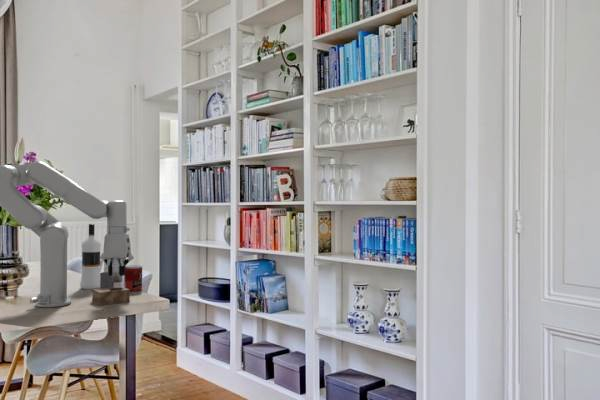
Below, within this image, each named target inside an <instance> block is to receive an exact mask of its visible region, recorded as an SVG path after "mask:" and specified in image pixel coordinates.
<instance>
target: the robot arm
mask: <svg viewBox="0 0 600 400" xmlns="http://www.w3.org/2000/svg"><path fill="white" fill-rule="evenodd" d="M30 185H31V186H32V185H37V186H38V187H41V188H42V189H44V190H45V191H46V192H48V193H50V194H52V195H54V196H55V197H56V198H57V199H60V200H61V201H63V202H65V203H67V204H69V205H70V206H72V207H74V208H75V209H77V210H79V212H81V213H82V214H85V215H86V216H88V217H89V218H91V219H94V220H98V219H103V218H106V234H105V235H104V236H105V240H104V239H103V240H104V242H103V251H102V252H103V253H101V254H100V260H102V261H103V263H104V262H105V263H106V264H107V266H108V273H109V276H112V258H118V259H120V262H121V266H120V276H122V277H123V276H124V275H125V273H126V266H128V263H130V262H131V261H132V260H134V256H133V254H132V247H131V245H132V244H131V239H130V235H129V233H128V232H130V230H131V229H130V228H129V227H128V226H127V203H126V201H124V200H109V201H108V200H101V199H99V198H97V197H96V196H95V195H92V194H91V193H89V192H88V191H86V190H85V189H83V188H82V187H81V186H79V185H78V183H76V182H74V180H72V179H71V178H69V177H67V176H66V175H64V174H63V173H61V172H59V171H58V170H56V169H55V168H54V167H52V166H50V165H49V164H47V163H45V162H44V161H41V160H40V161H39V160H35V161H32V162H31V163H26V164H16V165H9V164H0V207H1V208H2V209H3V210H4V211H6V212H7V214H9V215H10V216H12V218H14V219H15V220H16V221H17V222H18V223H19V224H20V225H21V226H23V228H26V229H28V230H30V231H32V232H33V233H34V234H36V235H37V236H38V237H39V246H40V248H39V249H40V250H39V251H40V263H39V264H40V276H39V277H40V278H39V279H40V280H39V281H40V283H39V284H40V286H39V292H40V293H39V294H37V296H36V297H31V298H30V299H29V303H30V304H35V306H36V307H38V308H39V307H40V308H57V307H64V306H68V305H70V304H71V303H72V300H71V299H70V298H69V299H68V298H67V297H68V295H67V294H68V239H69V230H68V229H67V227H66V226H65V225H64V224H63V223H62V222H61V221H60V220H58V219H57V218H56V217H55V216H53V215H52V213H50V212H49V211H48V210H46V209H45V208H44V207H42V206H41V205H37V204H35V203H34V202H32V201H31V200H30V199H29V198H28V197H26V195H24V193H22V192H21V191H19V190H18V189H17V188H16V187H23V186H30ZM107 258H108V259H107Z"/></svg>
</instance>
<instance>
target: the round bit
mask: <svg viewBox="0 0 600 400" xmlns="http://www.w3.org/2000/svg"><path fill="white" fill-rule="evenodd" d="M120 266H121V262H120V259H118V258H112V282H113V283H118V282H121V283H122V282H123V276H120Z"/></svg>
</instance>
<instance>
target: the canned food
mask: <svg viewBox="0 0 600 400" xmlns="http://www.w3.org/2000/svg"><path fill="white" fill-rule="evenodd" d="M123 276H124V280H123V281H124V285H123V287H124V288H127V289H130V292H139V291H142V289H143V266H142V265H137V264H131V265H130V264H129V265H126V273H125V275H123Z"/></svg>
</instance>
